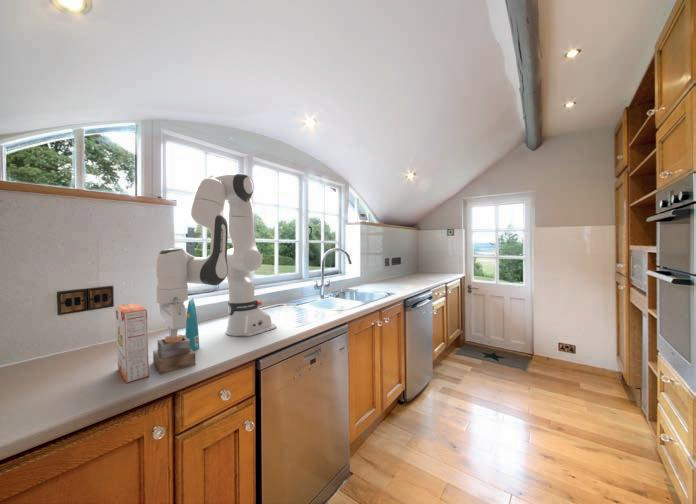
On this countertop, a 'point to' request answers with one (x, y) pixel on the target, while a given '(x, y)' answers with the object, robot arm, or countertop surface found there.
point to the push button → (173, 339)
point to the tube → (192, 326)
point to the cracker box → (132, 341)
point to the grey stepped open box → (173, 355)
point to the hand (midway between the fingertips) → (173, 337)
